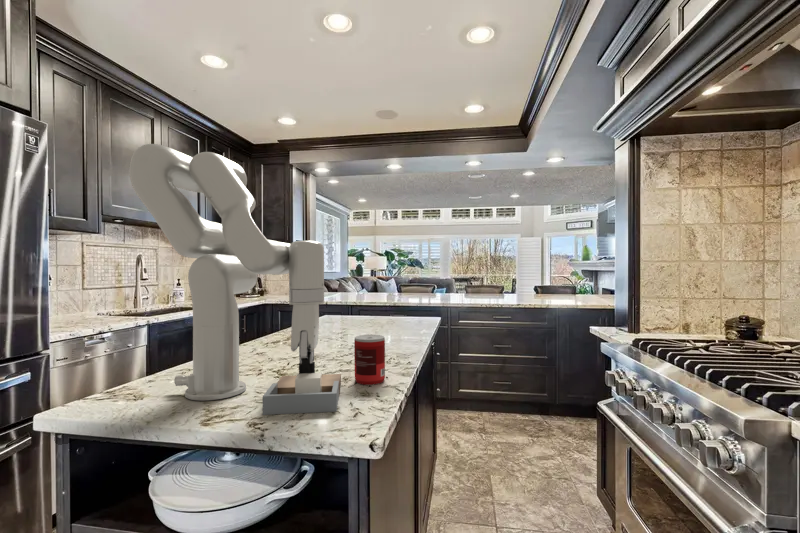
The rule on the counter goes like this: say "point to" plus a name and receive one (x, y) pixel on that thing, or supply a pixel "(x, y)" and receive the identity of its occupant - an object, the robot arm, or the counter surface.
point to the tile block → (308, 383)
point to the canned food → (369, 359)
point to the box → (300, 401)
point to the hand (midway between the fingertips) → (307, 380)
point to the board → (288, 383)
